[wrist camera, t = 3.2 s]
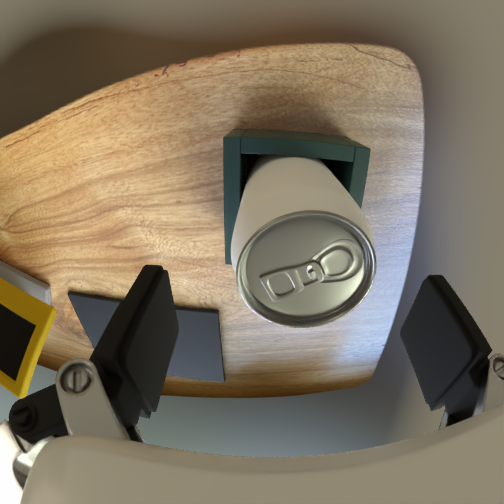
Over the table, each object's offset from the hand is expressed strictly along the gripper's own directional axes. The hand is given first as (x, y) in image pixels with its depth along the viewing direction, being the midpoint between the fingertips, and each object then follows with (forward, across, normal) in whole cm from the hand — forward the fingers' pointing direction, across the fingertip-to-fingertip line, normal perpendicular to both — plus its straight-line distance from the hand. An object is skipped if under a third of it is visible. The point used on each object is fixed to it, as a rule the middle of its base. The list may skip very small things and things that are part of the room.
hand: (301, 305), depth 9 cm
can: (+14, -1, 0) cm, 14 cm away
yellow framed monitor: (+14, +36, +14) cm, 42 cm away
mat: (+14, +15, +20) cm, 29 cm away
